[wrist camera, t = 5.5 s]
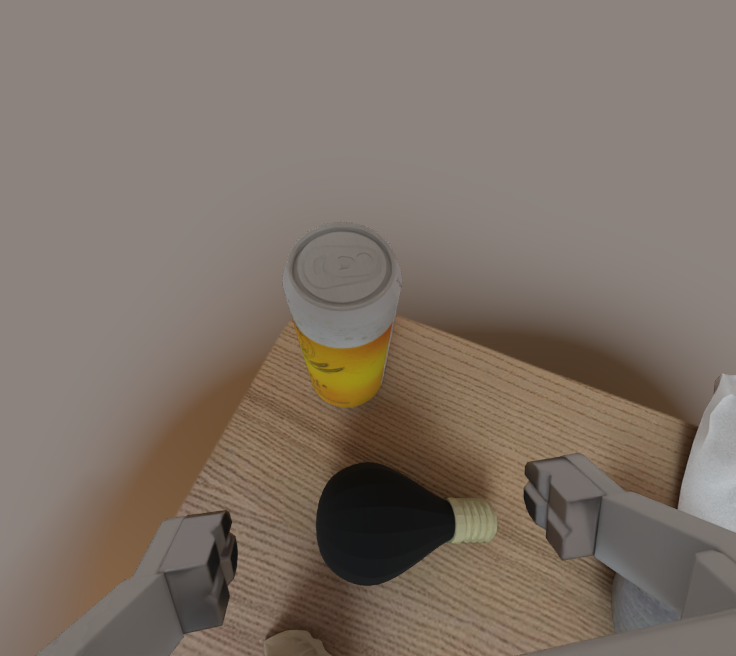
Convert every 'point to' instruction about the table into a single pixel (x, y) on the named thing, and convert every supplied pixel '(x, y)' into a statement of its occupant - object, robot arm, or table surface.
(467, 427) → the table surface
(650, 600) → the seashell
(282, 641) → the decorative ornament
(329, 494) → the light bulb
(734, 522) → the cloth
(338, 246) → the beer can
